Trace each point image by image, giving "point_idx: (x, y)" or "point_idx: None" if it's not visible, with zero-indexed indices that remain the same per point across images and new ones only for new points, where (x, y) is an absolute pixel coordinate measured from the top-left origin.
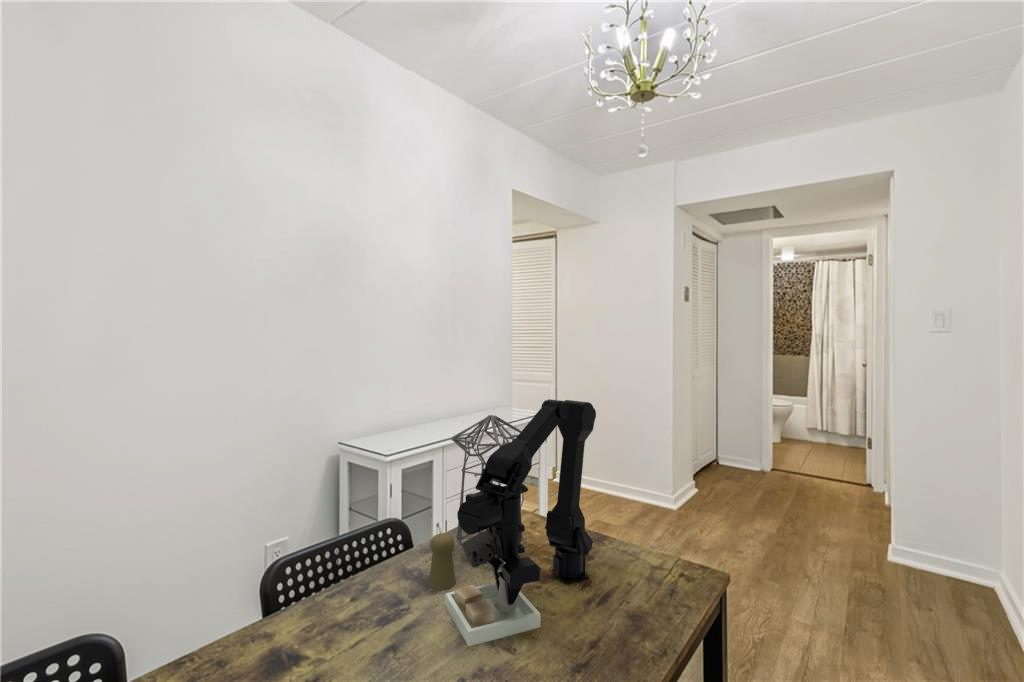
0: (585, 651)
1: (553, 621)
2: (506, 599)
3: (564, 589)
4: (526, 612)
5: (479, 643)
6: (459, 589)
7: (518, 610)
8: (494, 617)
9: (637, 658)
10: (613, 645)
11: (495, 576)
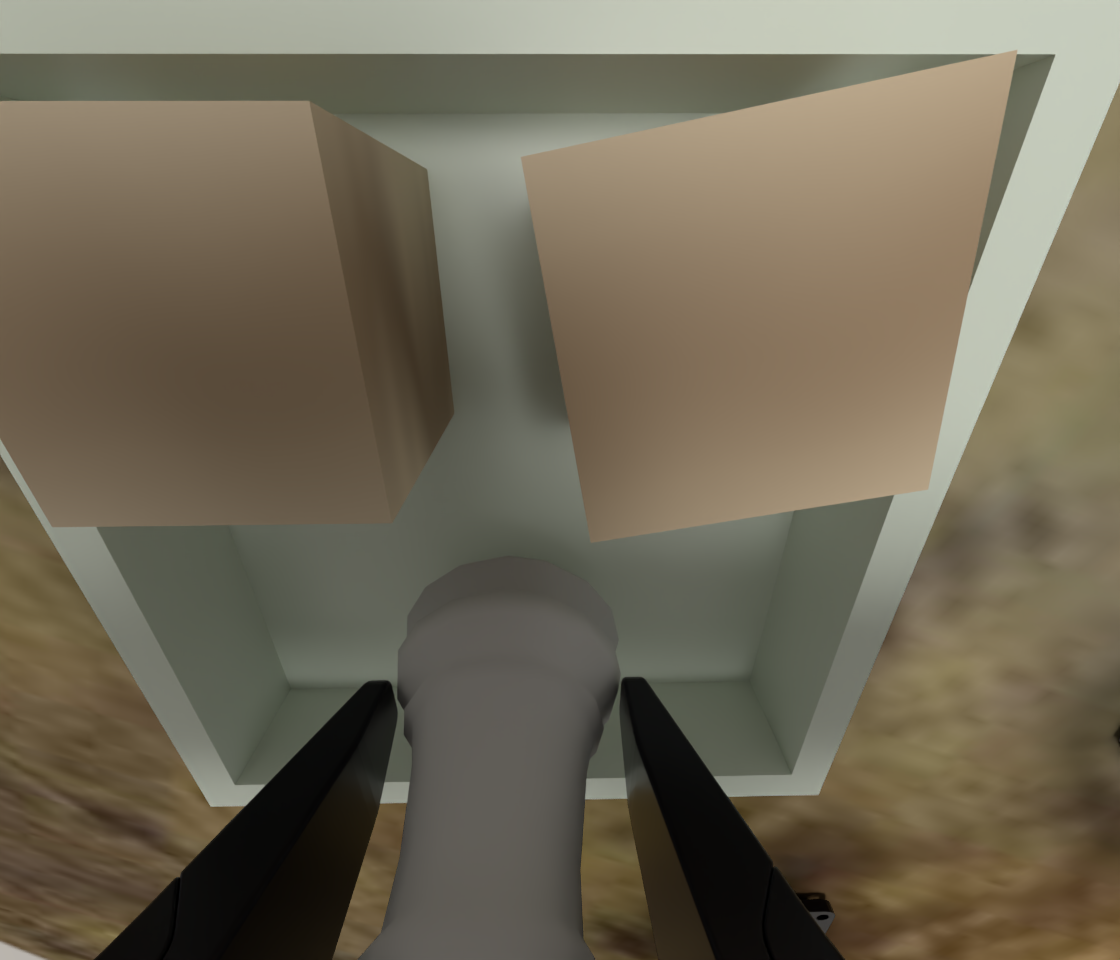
0: (58, 784)
1: None
2: (409, 708)
3: (637, 882)
4: None
5: None
6: (961, 191)
7: None
8: (480, 499)
9: (15, 892)
10: (113, 869)
11: (698, 880)
